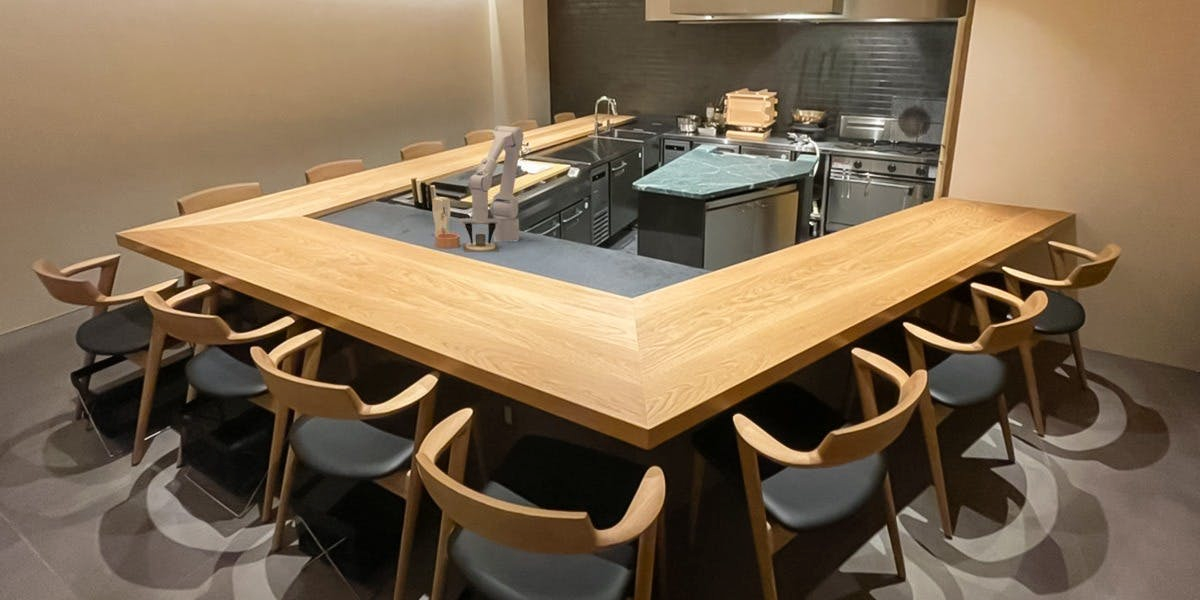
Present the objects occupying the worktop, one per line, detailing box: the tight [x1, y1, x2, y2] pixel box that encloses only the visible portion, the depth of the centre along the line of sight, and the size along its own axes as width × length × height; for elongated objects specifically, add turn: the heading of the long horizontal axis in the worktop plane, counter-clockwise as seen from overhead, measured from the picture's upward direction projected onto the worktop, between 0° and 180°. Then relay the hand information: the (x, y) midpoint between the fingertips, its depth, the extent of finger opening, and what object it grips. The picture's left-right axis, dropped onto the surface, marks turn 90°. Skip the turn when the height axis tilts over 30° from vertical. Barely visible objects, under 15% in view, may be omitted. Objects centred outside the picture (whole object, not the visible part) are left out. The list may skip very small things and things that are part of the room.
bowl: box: [435, 232, 461, 249], centre depth 252 cm, size 9×9×4 cm
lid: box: [466, 233, 495, 251], centre depth 251 cm, size 11×11×5 cm
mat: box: [462, 242, 500, 253], centre depth 252 cm, size 13×13×1 cm
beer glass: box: [431, 196, 451, 237], centre depth 267 cm, size 7×7×15 cm
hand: (480, 243), depth 251 cm, fingers open, 6 cm apart
